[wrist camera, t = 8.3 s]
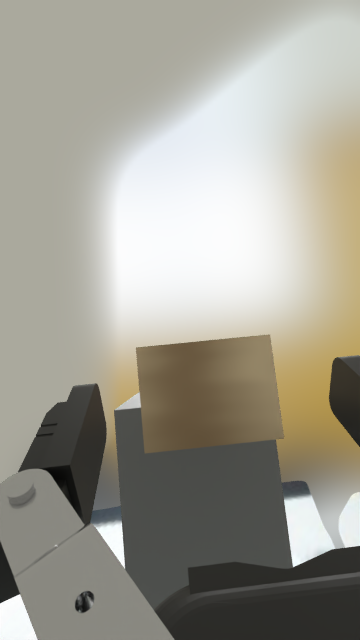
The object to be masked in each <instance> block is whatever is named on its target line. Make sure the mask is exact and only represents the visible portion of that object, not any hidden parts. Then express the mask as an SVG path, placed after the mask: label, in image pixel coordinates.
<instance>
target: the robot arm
mask: <svg viewBox="0 0 360 640" xmlns="http://www.w3.org/2000/svg"><path fill="white" fill-rule="evenodd" d="M329 394H330V395H329V402H330V406H331V409H332V411H333V414H334V415H335V416H336V418H337V419H338V420H339V422H340V423H341V424H342V425H343V426H344V428H345V429H346V430H347V431H348V433H349V434H350V435H351V437H352V438H353V439H354V440H355V442H356V443H357V444H358V445H359V447H360V356H359V355H357V356H348V357H337V358H335V359H334V361H333V364H332V373H331V383H330V393H329ZM105 443H106V421H105V416H104V411H103V406H102V401H101V396H100V391H99V387H98V385H97V384H96V383H95V384H86V385H76V386H73V388H72V390H71V392H70V395H69V397H68V400H67V402H60V403H57V404H56V405H55V406H54V407H53V408H52V409H51V410H50V411H49V412H47V413H46V416H45V418H44V420H43V422H42V424H41V427H40V428H39V430H38V432H37V434H36V437H35V438H34V440H33V442H32V444H31V446H30V449H29V451H28V453H27V455H26V457H25V459H24V461H23V463H22V465H21V467H20V469H19V471H18V473H16V474H14V475H12V476H11V477H9V478H7V479H6V480H5V481H3V482H2V483H1V484H0V603H2V602H4V601H6V600H8V599H10V598H12V597H14V596H17V595H19V594H20V595H21V597H22V600H23V602H24V605H25V608H26V610H27V613H28V615H29V618H30V621H31V623H32V626H33V628H34V631H35V634H36V636H37V639H38V640H360V546H356V547H348V548H340V549H332V550H330V551H328V552H326V553H324V554H321V555H319V556H317V557H315V558H313V559H310V560H308V561H306V562H304V563H302V564H300V565H297V566H295V567H293V568H290V569H282V568H275V567H268V566H261V565H254V564H248V563H241V562H229V563H221V564H213V565H205V566H197V567H189V568H188V577H189V585H188V586H186V587H184V588H182V589H179V590H178V591H176V592H175V593H173V594H171V595H170V596H168V597H167V598H166V599H165V600H163V601H162V602H161V603H160V604H158V605H157V607H156V608H155V609H154V610H153V608H152V607H151V606H150V604H149V603H148V601H147V600H146V599H145V597H144V596H143V594H142V593H141V591H140V590H139V589H138V587H137V586H136V584H135V583H134V582H133V580H132V579H131V577H130V576H129V574H128V573H127V572H126V570H125V569H124V567H123V566H122V565H121V563H120V562H119V560H118V559H117V557H116V556H115V555H114V553H113V552H112V550H111V549H110V548H109V546H108V545H107V543H106V542H105V540H104V539H103V538H102V536H101V535H100V533H99V532H98V531H97V529H96V528H95V527H94V526H93V524H91V523H90V520H91V515H92V510H93V505H94V499H95V494H96V489H97V484H98V479H99V474H100V468H101V464H102V458H103V453H104V448H105Z"/></svg>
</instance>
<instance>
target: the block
mask: <svg viewBox="0 0 360 640" xmlns="http://www.w3.org/2000/svg"><path fill="white" fill-rule="evenodd" d="M136 354H137V366H138V378H139V390H140V403H141V415H142V428H143V440H144V452H145V453H154V452H163V451H172V450H182V449H191V448H200V447H210V446H219V445H228V444H238V443H247V442H256V441H265V440H275V439H283V438H284V434H283V427H282V419H281V413H280V405H279V397H278V390H277V383H276V376H275V368H274V362H273V354H272V346H271V339H270V335H261V336H250V337H240V338H229V339H219V340H209V341H199V342H189V343H179V344H170V345H158V346H148V347H138V348H136Z"/></svg>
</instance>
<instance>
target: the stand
mask: <svg viewBox="0 0 360 640" xmlns="http://www.w3.org/2000/svg"><path fill="white" fill-rule="evenodd" d="M114 415H115V429H116V444H117V457H118V472H119V486H120V501H121V515H122V529H123V543H124V557H125V570H126V572H127V573H128V574H129V576H130V577H131V579H132V580H133V582H134V583H135V584H136V586H137V587H138V589H139V590H140V591H141V593H142V594H143V596H144V597H145V599H146V600H147V601H148V603H149V604H150V606H151V607H152V608H153V610H154V609H155V608H156V607H157V605H158V604H160V603H161V602H162V601H163V600H165V599H166V598H167V597H168V596H170V595H171V594H173V593H175V592H176V591H178V590H179V589H182V588H184V587H186V586H188V585H189V577H188V568H189V567H197V566H205V565H213V564H221V563H229V562H241V563H248V564H254V565H261V566H268V567H275V568H282V569H290V568H293V565H292V557H291V550H290V542H289V535H288V527H287V520H286V512H285V505H284V497H283V490H282V482H281V475H280V467H279V460H278V452H277V445H276V439H275V440H265V441H256V442H247V443H238V444H228V445H219V446H210V447H200V448H191V449H182V450H172V451H163V452H154V453H145V452H144V440H143V428H142V415H141V403H140V392H139V393H138V394H136V395H135V396H133V397H132V398H131V399H129V400H128V401H126V402H125V403H124V404H122V405H121V406H119V407H118V408H117V409H115V410H114Z"/></svg>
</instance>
